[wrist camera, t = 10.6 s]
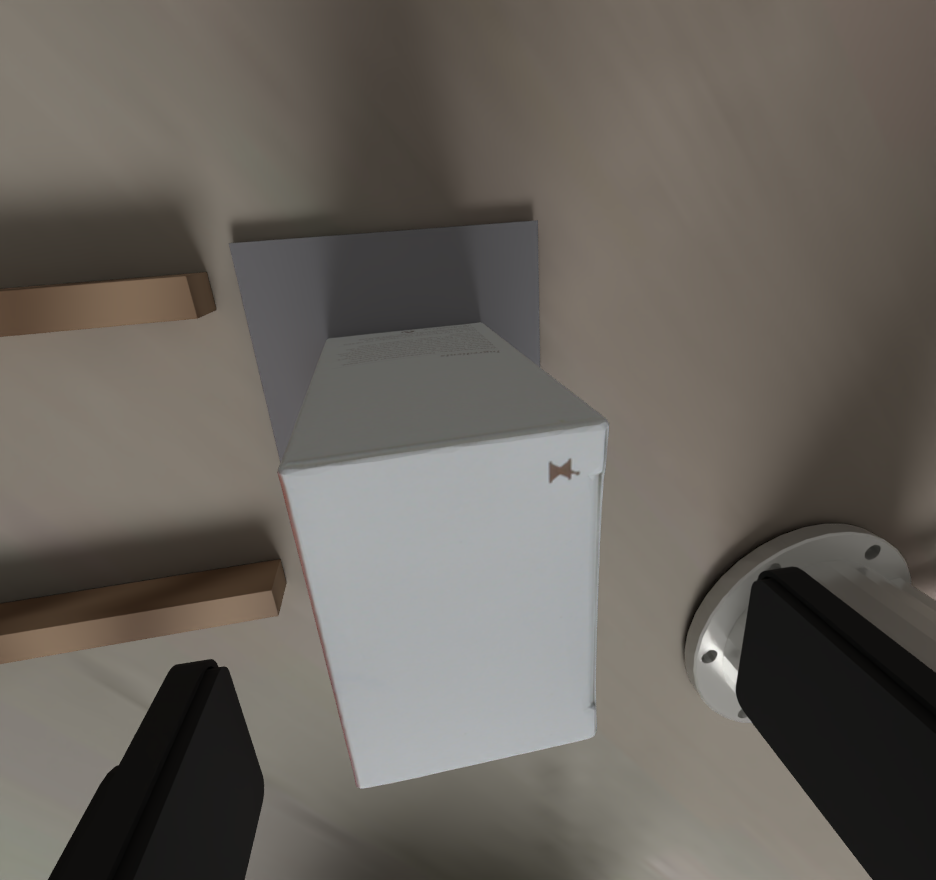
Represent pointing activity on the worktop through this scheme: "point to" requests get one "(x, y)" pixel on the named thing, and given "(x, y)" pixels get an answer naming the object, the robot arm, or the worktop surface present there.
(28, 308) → the lane rack
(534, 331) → the mat
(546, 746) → the small box
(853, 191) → the worktop surface
